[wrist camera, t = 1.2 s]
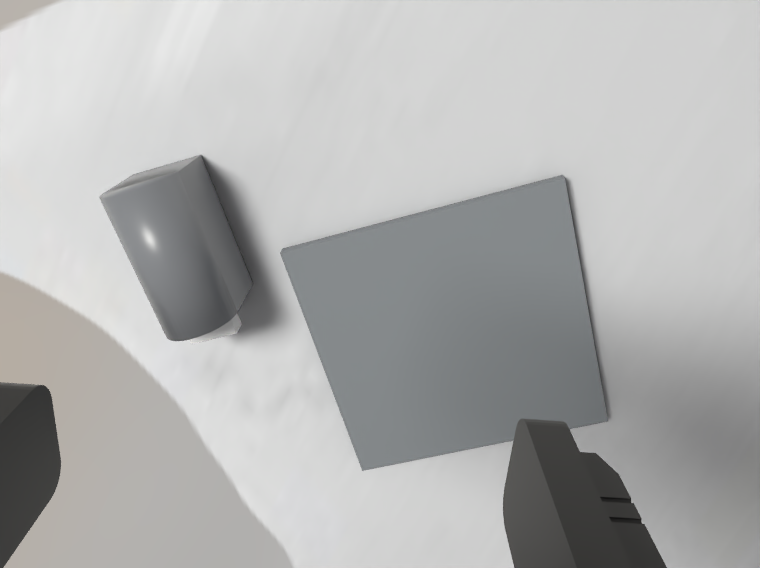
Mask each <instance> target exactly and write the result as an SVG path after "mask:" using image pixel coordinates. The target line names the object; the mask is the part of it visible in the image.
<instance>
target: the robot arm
mask: <svg viewBox="0 0 760 568" xmlns="http://www.w3.org/2000/svg"><path fill="white" fill-rule="evenodd" d="M60 459H61V458H60V451H59V444H58V439H57V432H56V424H55V417H54V411H53V404H52V397H51V394H50V391H49V389H47V387H46V386H44V385H31V384H17V383H1V382H0V568H3V567H4V566H5V564H6V563H7V561H8V560H9V558H10V557H11V555H12V554H13V553H14V551H15V550H16V548H17V547H18V545H19V544H20V542H21V541H22V540H23V538H24V537H25V535H26V534H27V532H28V531H29V530H30V528H31V527H32V525H33V524H34V522H35V521H36V519H37V518H38V516H39V515H40V514H41V512H42V511H43V509H44V508H45V507H46V505H47V504H48V502H49V501H50V499H51V498H52V496H53V494H54V492H55V489H56V487H57V484H58V480H59V476H60V469H61V460H60ZM503 516H504V525H505V530H506V534H507V538H508V543H509V547H510V551H511V555H512V559H513V564H514V568H667V567H666V565H665V563H664V561H663V559H662V558H661V556H660V554H659V552H658V550H657V548H656V546H655V544H654V542H653V540H652V538H651V536H650V534H649V532H648V530H647V528H646V527H645V525H644V524H642V523H641V517H640V515H639V513H638V511H637V509H636V507H635V505H634V503H631V498H630V496H629V494H628V492H627V490H626V488H625V486H624V484H623V482H622V480H621V478H620V476H619V474H618V473H616V472H615V471H614V470H613V469H612V468H611V467H610V466H609V465H608V464H607V463H606V462H605V461H604V460H603V459H601V458H600V457H599V456H598V455H597V454H596V453H585V452H579V449H578V447H577V445H576V443H575V441H574V438H573V436H572V434H571V432H570V430H569V427H568V426H567V424H566V423H565V422H564V421H552V420H537V419H520V420H519V421H518V423H517V426H516V431H515V436H514V441H513V446H512V452H511V457H510V462H509V467H508V473H507V478H506V483H505V488H504V497H503Z"/></svg>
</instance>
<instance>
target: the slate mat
mask: <svg viewBox="0 0 760 568" xmlns="http://www.w3.org/2000/svg"><path fill="white" fill-rule="evenodd" d="M280 254H281V256H282V259H283V262H284V264H285V267H286V270H287V272H288V275H289V278H290V280H291V283H292V286H293V288H294V291H295V293H296V296H297V299H298V301H299V304H300V307H301V309H302V312H303V315H304V317H305V320H306V323H307V325H308V328H309V331H310V333H311V336H312V338H313V341H314V344H315V346H316V349H317V352H318V354H319V357H320V360H321V362H322V365H323V368H324V370H325V373H326V376H327V378H328V381H329V383H330V386H331V389H332V391H333V394H334V397H335V399H336V402H337V405H338V407H339V410H340V413H341V415H342V418H343V420H344V423H345V426H346V428H347V431H348V434H349V436H350V439H351V442H352V444H353V447H354V450H355V452H356V455H357V458H358V460H359V463H360V465H361V468H362V471H364V470H369V469H374V468H379V467H384V466H389V465H394V464H399V463H404V462H409V461H413V460H418V459H423V458H428V457H433V456H438V455H443V454H448V453H453V452H458V451H463V450H468V449H473V448H478V447H483V446H488V445H493V444H498V443H503V442H508V441H512V440H514V436H515V431H516V426H517V423H518V421H519V420H520V419H537V420H552V421H564V422H565V423H566V424H567V426H568V427H569V429H572V428H577V427H582V426H587V425H592V424H597V423H602V422H607V421H608V418H607V412H606V407H605V401H604V396H603V390H602V384H601V379H600V373H599V367H598V362H597V356H596V350H595V345H594V339H593V333H592V328H591V322H590V317H589V311H588V305H587V300H586V294H585V288H584V283H583V277H582V271H581V266H580V260H579V255H578V249H577V243H576V238H575V232H574V226H573V221H572V215H571V209H570V204H569V198H568V192H567V187H566V181H565V178H564V177H563V175H561V176H557V177H553V178H549V179H545V180H542V181H538V182H534V183H530V184H526V185H523V186H519V187H515V188H511V189H507V190H504V191H500V192H496V193H492V194H488V195H485V196H481V197H477V198H473V199H469V200H466V201H462V202H458V203H454V204H450V205H447V206H443V207H439V208H435V209H431V210H428V211H424V212H420V213H416V214H412V215H409V216H405V217H401V218H397V219H394V220H390V221H386V222H382V223H378V224H375V225H371V226H367V227H363V228H359V229H356V230H352V231H348V232H344V233H340V234H337V235H333V236H329V237H325V238H321V239H318V240H314V241H310V242H306V243H302V244H299V245H295V246H291V247H287V248H283V249H282V251H281V253H280Z"/></svg>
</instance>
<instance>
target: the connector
mask: <svg viewBox="0 0 760 568" xmlns="http://www.w3.org/2000/svg"><path fill="white" fill-rule="evenodd" d="M99 198H100V200H101V202H102V204H103V206H104V208H105V210H106V212H107V215H108V217H109V219H110V221H111V223H112V225H113V227H114V229H115V231H116V233H117V235H118V237H119V239H120V242H121V244H122V246H123V248H124V250H125V252H126V254H127V256H128V258H129V260H130V262H131V264H132V266H133V269H134V271H135V273H136V275H137V277H138V279H139V281H140V283H141V285H142V287H143V289H144V291H145V293H146V296H147V298H148V300H149V302H150V304H151V306H152V308H153V310H154V312H155V314H156V316H157V318H158V320H159V323H160V325H161V327H162V329H163V331H164V333H165V335H166V337H167V338H168V339H169V340H172V341H184V340H190V342H191V344H195V343H200V342H204V341H208V340H212V339H216V338H220V337H224V336H228V335H232V334H236V333H237V332H238V330H239V328H240V326H241V325H242V323H241V320H240V318H239V316H238V313H237V312H238V311H239V309H240V307H241V305H242V303H243V302H244V300H245V298H246V296H247V294H248V293H249V291H250V289H251V287H252V285H253V283H252V280H251V278H250V275H249V273H248V270H247V268H246V265H245V263H244V260H243V258H242V255H241V253H240V250H239V248H238V246H237V243H236V241H235V238H234V236H233V233H232V231H231V228H230V226H229V223H228V221H227V218H226V216H225V213H224V211H223V208H222V206H221V203H220V201H219V199H218V196H217V194H216V191H215V189H214V186H213V184H212V181H211V179H210V176H209V174H208V171H207V169H206V166H205V164H204V161H203V159H202V157H201V155H199V156H195V157H192V158H188V159H185V160H182V161H178V162H175V163H171V164H168V165H165V166H161V167H158V168H154V169H151V170H148V171H144V172H141V173H137V174H134V175H132V176H130V177H129V178H127V179H125V180H124V181H122V182H121V183H119V184H118V185H116V186H114V187H113V188H111V189H110V190H108V191H106V192H105V193H103V194H102V195H101V196H100V197H99Z"/></svg>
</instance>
